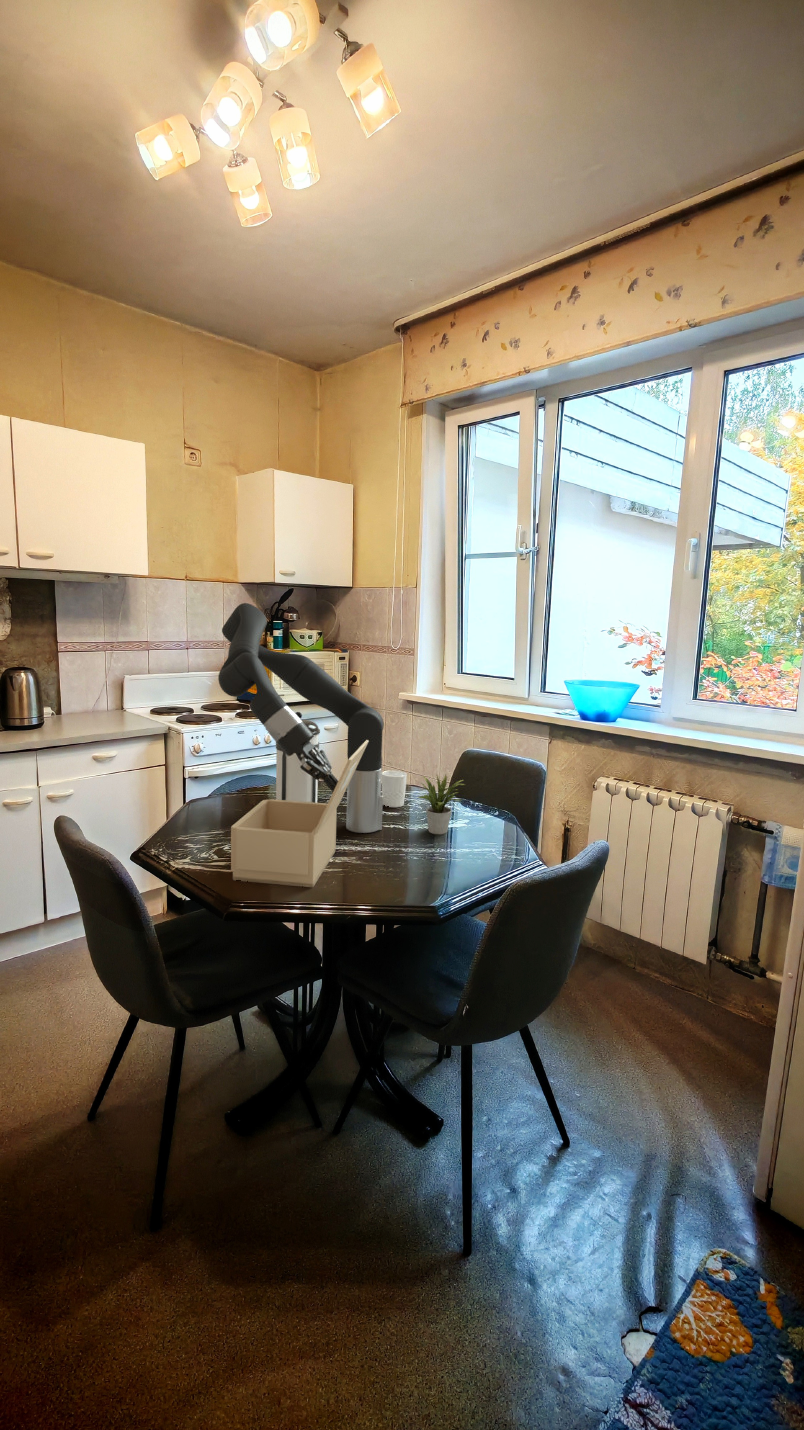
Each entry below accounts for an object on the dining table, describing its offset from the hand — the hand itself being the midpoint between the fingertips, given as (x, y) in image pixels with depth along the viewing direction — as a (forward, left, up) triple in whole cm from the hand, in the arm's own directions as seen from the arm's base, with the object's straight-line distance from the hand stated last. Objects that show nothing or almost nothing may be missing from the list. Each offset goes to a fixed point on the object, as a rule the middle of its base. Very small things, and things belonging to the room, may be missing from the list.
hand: (337, 789), depth 147 cm
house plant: (-34, -20, -20) cm, 44 cm away
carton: (+10, -6, -19) cm, 23 cm away
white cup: (-29, -48, -20) cm, 59 cm away
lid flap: (-1, 0, +1) cm, 2 cm away
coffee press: (+2, -47, -20) cm, 50 cm away
